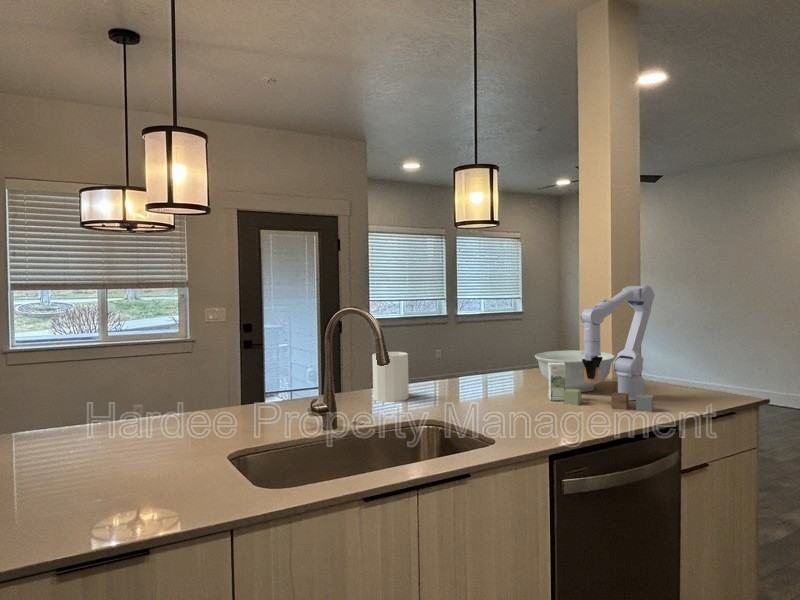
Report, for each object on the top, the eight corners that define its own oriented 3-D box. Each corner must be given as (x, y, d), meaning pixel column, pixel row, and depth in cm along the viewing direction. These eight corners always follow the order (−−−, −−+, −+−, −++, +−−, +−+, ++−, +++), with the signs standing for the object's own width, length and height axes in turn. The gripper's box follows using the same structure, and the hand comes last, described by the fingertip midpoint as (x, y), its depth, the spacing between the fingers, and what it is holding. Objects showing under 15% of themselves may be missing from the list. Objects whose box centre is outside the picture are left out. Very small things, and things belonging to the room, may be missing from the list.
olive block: (567, 401, 214) (567, 388, 214) (581, 402, 211) (580, 389, 211) (564, 404, 210) (564, 391, 210) (577, 405, 207) (577, 392, 207)
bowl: (544, 397, 223) (544, 360, 222) (528, 382, 255) (528, 350, 254) (626, 396, 221) (626, 359, 221) (600, 381, 254) (600, 349, 253)
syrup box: (563, 398, 220) (562, 361, 220) (566, 401, 214) (565, 363, 214) (548, 398, 221) (547, 361, 220) (550, 401, 215) (550, 363, 214)
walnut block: (613, 406, 205) (613, 392, 205) (628, 407, 203) (628, 393, 203) (611, 408, 201) (611, 394, 201) (626, 410, 198) (626, 396, 198)
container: (393, 403, 218) (392, 357, 217) (365, 399, 226) (364, 354, 226) (415, 396, 229) (414, 352, 229) (387, 393, 238) (386, 350, 237)
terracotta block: (587, 380, 212) (586, 366, 212) (600, 380, 210) (600, 367, 210) (584, 382, 208) (583, 368, 208) (598, 383, 205) (597, 369, 205)
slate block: (638, 408, 201) (637, 394, 201) (653, 409, 199) (653, 395, 199) (636, 411, 197) (636, 396, 197) (651, 412, 194) (651, 398, 194)
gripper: (585, 338, 217) (585, 373, 217) (576, 342, 204) (576, 379, 205) (604, 339, 213) (604, 374, 214) (596, 343, 201) (597, 381, 201)
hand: (592, 377), depth 209 cm, fingers closed on terracotta block, 5 cm apart
